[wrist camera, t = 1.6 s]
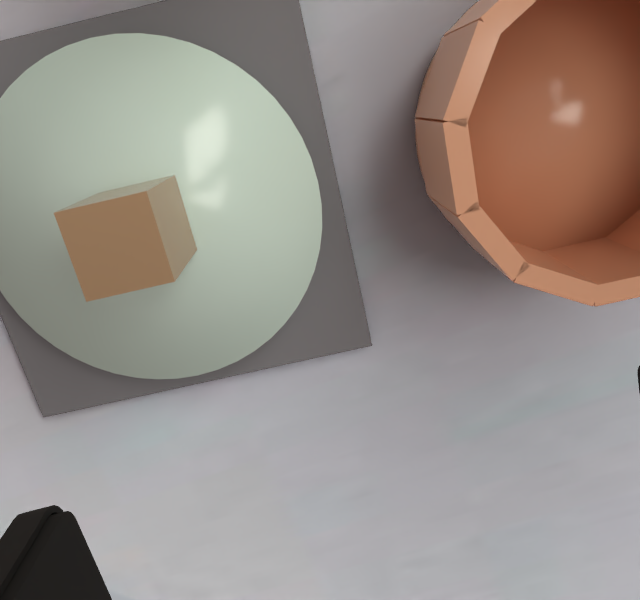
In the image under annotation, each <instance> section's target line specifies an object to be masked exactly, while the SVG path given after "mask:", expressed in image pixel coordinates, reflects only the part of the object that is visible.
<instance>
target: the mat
mask: <svg viewBox="0 0 640 600" xmlns="http://www.w3.org/2000/svg"><path fill="white" fill-rule="evenodd" d="M122 33H144V34H152V35H161V36H167V37H171V38H175V39H179V40H183V41H186V42H190V43H193V44H195V45H198V46H200V47H202V48H205V49H207V50H210V51H212V52H214V53H216V54H218V55H220V56H221V57H223V58H225V59H227V60H228V61H230V62H232V63H234V64H235V65H237V66H239V67H240V68H241V69H243V70H244V71H245V72H247V73H248V74H249V75H251V76H252V77H253V78H255V79H256V80H257V81H258V82H259V83H260V84H261V85H262V86H263V87H264V88H265V89H266V90H267V91H268V92H270V93H271V94H272V95H273V96H274V97H275V99H276V100H277V101H278V102H279V104H280V105H281V106H282V107H283V109H284V110H285V111H286V112H287V114H288V115H289V116H290V118H291V119H292V121H293V123H294V124H295V126H296V128H297V129H298V131H299V133H300V134H301V136H302V138H303V140H304V143H305V145H306V147H307V150H308V152H309V154H310V156H311V159H312V162H313V166H314V169H315V173H316V176H317V180H318V184H319V191H320V197H321V203H322V235H321V244H320V251H319V255H318V259H317V263H316V267H315V271H314V273H313V276H312V278H311V281H310V284H309V286H308V289H307V291H306V292H305V294H304V296H303V298H302V300H301V301H300V303H299V305H298V307H297V308H296V310H295V311H294V312H293V314H292V315H291V316H290V318H289V319H288V320H287V322H286V323H285V324H284V325H283V326H282V327H281V328H280V329H279V330H278V331H277V332H276V334H275V335H274V336H273V337H272V338H271V339H269V340H268V341H267V342H266V343H264V344H263V345H262V346H260V347H259V348H258V349H257V350H255V351H254V352H252V353H251V354H249V355H247V356H245V357H244V358H242V359H240V360H239V361H237V362H235V363H232V364H230V365H228V366H225V367H223V368H221V369H218V370H215V371H212V372H208V373H205V374H201V375H197V376H191V377H185V378H179V379H145V378H135V377H129V376H124V375H119V374H114V373H111V372H108V371H105V370H102V369H99V368H96V367H93V366H91V365H89V364H86V363H84V362H82V361H80V360H77V359H75V358H73V357H72V356H70V355H68V354H67V353H65V352H63V351H61V350H60V349H58V348H56V347H55V346H53V345H52V344H51V343H50V342H48V341H47V340H46V339H44V338H43V337H42V336H40V335H39V334H38V333H36V332H35V331H34V330H33V329H32V328H31V327H30V326H29V325H28V324H27V323H26V322H25V321H24V320H23V319H22V318H21V317H20V316H19V315H18V314H17V312H16V311H15V310H14V309H13V307H12V306H11V305H10V304H9V303H8V301H7V300H6V299H5V297H4V296H3V294H2V293H1V291H0V314H1V317H2V319H3V321H4V324H5V326H6V329H7V331H8V333H9V336H10V338H11V341H12V343H13V345H14V348H15V350H16V353H17V355H18V357H19V360H20V362H21V365H22V367H23V369H24V372H25V374H26V377H27V379H28V381H29V384H30V386H31V389H32V391H33V393H34V396H35V398H36V401H37V403H38V405H39V408H40V410H41V413H42V415H43V417H47V416H52V415H57V414H61V413H66V412H70V411H75V410H79V409H84V408H89V407H93V406H98V405H102V404H107V403H111V402H116V401H121V400H125V399H130V398H134V397H139V396H143V395H148V394H153V393H157V392H162V391H166V390H171V389H175V388H180V387H185V386H189V385H194V384H198V383H203V382H207V381H212V380H217V379H221V378H226V377H230V376H235V375H239V374H244V373H249V372H253V371H258V370H262V369H267V368H271V367H276V366H281V365H285V364H290V363H294V362H299V361H304V360H308V359H313V358H317V357H322V356H326V355H331V354H336V353H340V352H345V351H349V350H354V349H358V348H363V347H368V346H372V343H371V338H370V333H369V329H368V324H367V319H366V315H365V310H364V305H363V300H362V296H361V291H360V286H359V282H358V277H357V272H356V268H355V263H354V258H353V253H352V249H351V244H350V239H349V235H348V230H347V225H346V221H345V216H344V211H343V206H342V202H341V197H340V192H339V188H338V183H337V178H336V174H335V169H334V164H333V159H332V155H331V150H330V145H329V141H328V136H327V131H326V127H325V122H324V117H323V112H322V108H321V103H320V98H319V94H318V89H317V84H316V79H315V75H314V70H313V65H312V61H311V56H310V51H309V47H308V42H307V37H306V32H305V28H304V23H303V18H302V14H301V9H300V4H299V0H165V1H161V2H157V3H153V4H149V5H145V6H141V7H137V8H133V9H129V10H124V11H120V12H116V13H112V14H108V15H104V16H100V17H96V18H92V19H88V20H84V21H80V22H76V23H72V24H67V25H63V26H59V27H55V28H51V29H47V30H43V31H39V32H35V33H31V34H27V35H23V36H19V37H15V38H10V39H6V40H2V41H0V98H1V96H2V95H3V94H4V93H5V91H6V90H7V89H8V87H9V86H10V85H11V84H12V83H13V82H14V81H15V80H16V79H17V78H18V77H19V76H20V75H21V74H22V73H24V72H25V71H26V70H27V69H28V68H30V67H31V66H32V65H34V64H35V63H37V62H38V61H39V60H41V59H42V58H44V57H45V56H47V55H49V54H51V53H53V52H55V51H57V50H59V49H61V48H63V47H65V46H67V45H70V44H73V43H76V42H79V41H82V40H85V39H88V38H92V37H98V36H104V35H110V34H122Z"/></svg>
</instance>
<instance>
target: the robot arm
mask: <svg viewBox="0 0 640 600" xmlns="http://www.w3.org/2000/svg"><path fill="white" fill-rule="evenodd" d="M638 383H639V392H640V366H639V368H638ZM0 600H112V599H111V596H110V594H109V592H108V590H107V587H106V585H105V583H104V581H103V578H102V576H101V574H100V572H99V570H98V567H97V565H96V563H95V561H94V558H93V556H92V554H91V552H90V549H89V547H88V545H87V543H86V540H85V538H84V536H83V534H82V531H81V529H80V527H79V525H78V522H77V520H76V518H75V516H74V515H73V514H72V513H71V512H69V511H66V512H63V510H62V509H61V508H60V507H59V506H55V505H53V506H49V507H45V508H41V509H37V510H33V511H29V512H26V513H22V514H19V515H17V516H16V518H15V519H14V520H13V521H12V523H11V524H10V526H9V527H8V529H7V530H6V532H5V533H4V535H3V536H2V538H1V539H0Z"/></svg>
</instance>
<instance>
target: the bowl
mask: <svg viewBox="0 0 640 600" xmlns="http://www.w3.org/2000/svg"><path fill="white" fill-rule="evenodd" d="M443 36H444V37H442V38H441V41H440V44H439V47H438V49H437V51H436V53H435V55H434V56H433V58H432V60H431V63H430V65H429V67H428V70H427V72H426V75H425V77H424V80H423V84H422V87H421V91H420V95H419V98H418V105H417V111H416V114H415V116H414V117H416V119H414V121H415V140H416V150H417V157H418V162H419V166H420V170H421V174H422V176H423V179H424V182H425V186H426V192H427V194H428V197H429V198H430V199H431V200H432V201H433V202H434V204H435V205H436V206H437V207H438V208H439V210H440V211H441V213H442V214H443V215H444V217H445V218H446V219H447V220H448V221H449V222H450V223H451V224H452V225H453V226H454V227H455V228H456V229H457V230H458V232H459V233H460V234H461V235H462V236H463V237H464V239H465V240H466V241H467V242H468V243H469V244H470V246H471V247H472V248H473V249H474V250H476V251H477V252H478V253H479V254H480V255H482V256H483V257H484V258H485V259H486V260H488V261H489V262H490V263H491V264H492V265H493V266H495V267H496V268H497V269H498V270H499V271H501V272H502V273H503V274H504V275H505V276H507V277H508V278H509V279H510V280H511V281H513V282H514V283H517V284H521V285H524V286H527V287H531V288H534V289H537V290H540V291H544V292H547V293H550V294H554V295H557V296H560V297H563V298H567V299H570V300H573V301H577V302H580V303H583V304H587V305H590V306H593V305H594V306H600V305H604V304H609V303H614V302H618V301H623V300H627V299H632V298H637V297H640V0H479V1H478V2H476V3H475V4H474V5H473V6H472V7H471V8H469V9H468V10H467V11H466V12H465V13H464V15H463V16H462V17H461V18H460V19H459V20H458V21H457V22H456V23H455V24H454V26H452V27H451V28H450V29H449V30H448V31H447V32H446V33H445V34H444V35H443Z"/></svg>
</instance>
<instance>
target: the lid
mask: <svg viewBox="0 0 640 600" xmlns="http://www.w3.org/2000/svg"><path fill="white" fill-rule="evenodd" d="M321 235H322V203H321V197H320V191H319V184H318V180H317V176H316V173H315V169H314V166H313V162H312V159H311V156H310V154H309V152H308V150H307V147H306V145H305V143H304V140H303V138H302V136H301V134H300V133H299V131H298V129H297V128H296V126H295V124H294V123H293V121H292V119H291V118H290V116H289V115H288V114H287V112H286V111H285V110H284V109H283V107H282V106H281V105H280V104H279V102H278V101H277V100H276V99H275V97H274V96H273V95H272V94H271V93H270V92H268V91H267V90H266V89H265V88H264V87H263V86H262V85H261V84H260V83H259V82H258V81H257V80H256V79H255V78H253V77H252V76H251V75H249V74H248V73H247V72H245V71H244V70H243V69H241V68H240V67H239V66H237V65H235V64H234V63H232V62H230V61H228V60H227V59H225V58H223V57H221V56H220V55H218V54H216V53H214V52H212V51H210V50H207V49H205V48H202V47H200V46H198V45H195V44H193V43H190V42H186V41H183V40H179V39H175V38H171V37H167V36H161V35H152V34H144V33H122V34H110V35H104V36H98V37H92V38H88V39H85V40H82V41H79V42H76V43H73V44H70V45H67V46H65V47H63V48H61V49H59V50H57V51H55V52H53V53H51V54H49V55H47V56H45V57H44V58H42V59H41V60H39V61H38V62H37V63H35V64H34V65H32V66H31V67H30V68H28V69H27V70H26V71H25V72H24V73H22V74H21V75H20V76H19V77H18V78H17V79H16V80H15V81H14V82H13V83H12V84H11V85H10V86H9V87H8V89H7V90H6V91H5V93H4V94H3V95H2V96H1V98H0V291H1V293H2V294H3V296H4V297H5V299H6V300H7V301H8V303H9V304H10V305H11V306H12V307H13V309H14V310H15V311H16V312H17V314H18V315H19V316H20V317H21V318H22V319H23V320H24V321H25V322H26V323H27V324H28V325H29V326H30V327H31V328H32V329H33V330H34V331H35V332H36V333H38V334H39V335H40V336H42V337H43V338H44V339H46V340H47V341H48V342H50V343H51V344H52V345H53V346H55V347H56V348H58V349H60V350H61V351H63V352H65V353H67V354H68V355H70V356H72V357H73V358H75V359H77V360H80V361H82V362H84V363H86V364H89V365H91V366H93V367H96V368H99V369H102V370H105V371H108V372H111V373H114V374H119V375H124V376H129V377H135V378H145V379H179V378H185V377H191V376H197V375H201V374H205V373H208V372H212V371H215V370H218V369H221V368H223V367H225V366H228V365H230V364H232V363H235V362H237V361H239V360H240V359H242V358H244V357H245V356H247V355H249V354H251V353H252V352H254V351H255V350H257V349H258V348H259V347H260V346H262V345H263V344H264V343H266V342H267V341H268V340H269V339H271V338H272V337H273V336H274V335H275V334H276V332H277V331H278V330H279V329H280V328H281V327H282V326H283V325H284V324H285V323H286V322H287V320H288V319H289V318H290V316H291V315H292V314H293V312H294V311H295V310H296V308H297V307H298V305H299V303H300V301H301V300H302V298H303V296H304V294H305V292H306V291H307V289H308V286H309V284H310V281H311V278H312V276H313V273H314V271H315V267H316V263H317V259H318V255H319V251H320V244H321Z"/></svg>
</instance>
